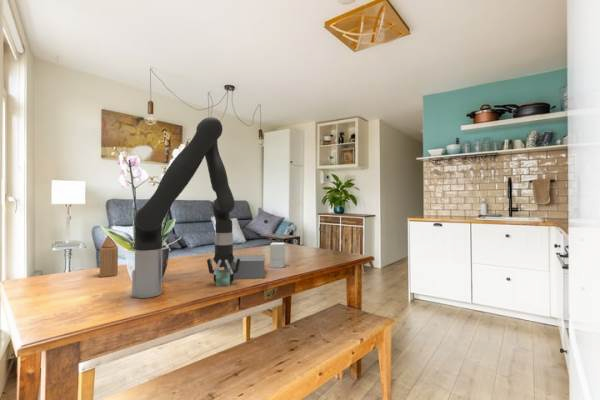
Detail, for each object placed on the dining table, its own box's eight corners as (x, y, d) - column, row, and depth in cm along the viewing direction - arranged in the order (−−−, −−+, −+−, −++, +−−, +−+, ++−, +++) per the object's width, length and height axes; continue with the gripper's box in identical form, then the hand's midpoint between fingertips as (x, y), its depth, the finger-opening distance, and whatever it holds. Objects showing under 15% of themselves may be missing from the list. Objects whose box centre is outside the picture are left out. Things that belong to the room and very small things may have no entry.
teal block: (215, 286, 124) (216, 272, 124) (218, 282, 129) (218, 269, 129) (229, 285, 124) (229, 272, 124) (231, 282, 130) (231, 269, 130)
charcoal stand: (224, 279, 134) (224, 261, 134) (228, 270, 150) (228, 254, 150) (264, 278, 136) (264, 260, 136) (264, 270, 152) (264, 254, 152)
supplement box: (285, 265, 164) (285, 242, 164) (283, 268, 157) (283, 244, 157) (272, 264, 165) (272, 242, 165) (269, 267, 158) (269, 243, 158)
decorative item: (99, 277, 136) (99, 233, 136) (101, 274, 142) (101, 232, 142) (116, 276, 139) (116, 233, 139) (117, 272, 145) (118, 231, 145)
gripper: (204, 244, 122) (204, 285, 122) (240, 244, 124) (240, 284, 124) (208, 242, 130) (208, 280, 130) (241, 241, 131) (241, 280, 131)
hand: (223, 282), depth 127 cm, fingers closed on teal block, 5 cm apart
